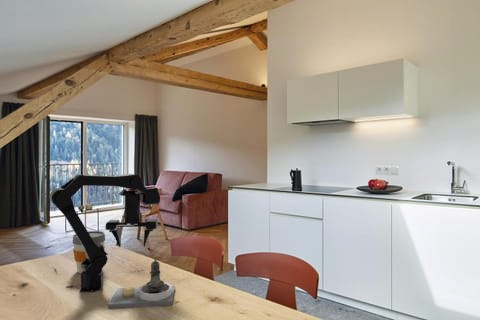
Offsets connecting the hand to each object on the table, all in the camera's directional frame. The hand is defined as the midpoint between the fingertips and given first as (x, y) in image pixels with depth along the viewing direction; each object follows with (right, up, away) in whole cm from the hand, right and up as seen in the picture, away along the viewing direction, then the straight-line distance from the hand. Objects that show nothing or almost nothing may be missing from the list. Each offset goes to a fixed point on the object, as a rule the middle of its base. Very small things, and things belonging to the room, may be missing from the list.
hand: (132, 246), depth 131 cm
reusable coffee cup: (-21, -13, +11) cm, 27 cm away
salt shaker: (+13, -12, -15) cm, 23 cm away
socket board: (+9, -13, -16) cm, 22 cm away
